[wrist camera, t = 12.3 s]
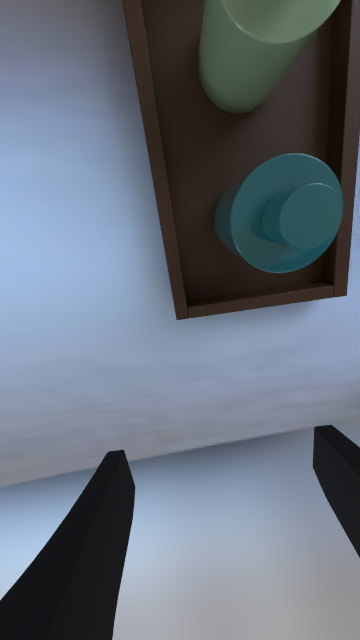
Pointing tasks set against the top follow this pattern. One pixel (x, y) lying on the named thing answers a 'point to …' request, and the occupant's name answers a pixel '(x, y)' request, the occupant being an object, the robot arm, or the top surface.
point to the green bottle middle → (254, 46)
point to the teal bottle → (280, 213)
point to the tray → (241, 152)
